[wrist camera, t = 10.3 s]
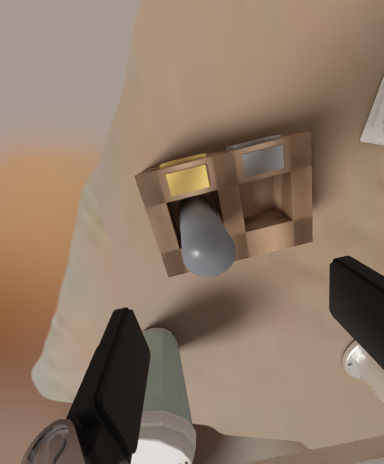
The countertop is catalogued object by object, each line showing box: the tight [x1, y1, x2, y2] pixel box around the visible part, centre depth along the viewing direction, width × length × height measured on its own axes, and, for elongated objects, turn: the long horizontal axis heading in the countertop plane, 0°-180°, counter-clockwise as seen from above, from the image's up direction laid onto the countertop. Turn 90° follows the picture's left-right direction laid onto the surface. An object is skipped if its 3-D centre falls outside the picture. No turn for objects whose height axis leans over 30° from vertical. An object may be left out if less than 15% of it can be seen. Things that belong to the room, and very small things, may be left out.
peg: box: [179, 195, 236, 277], centre depth 19 cm, size 4×4×11 cm
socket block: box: [135, 131, 313, 277], centre depth 23 cm, size 16×11×6 cm
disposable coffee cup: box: [131, 328, 196, 464], centre depth 27 cm, size 11×11×15 cm
